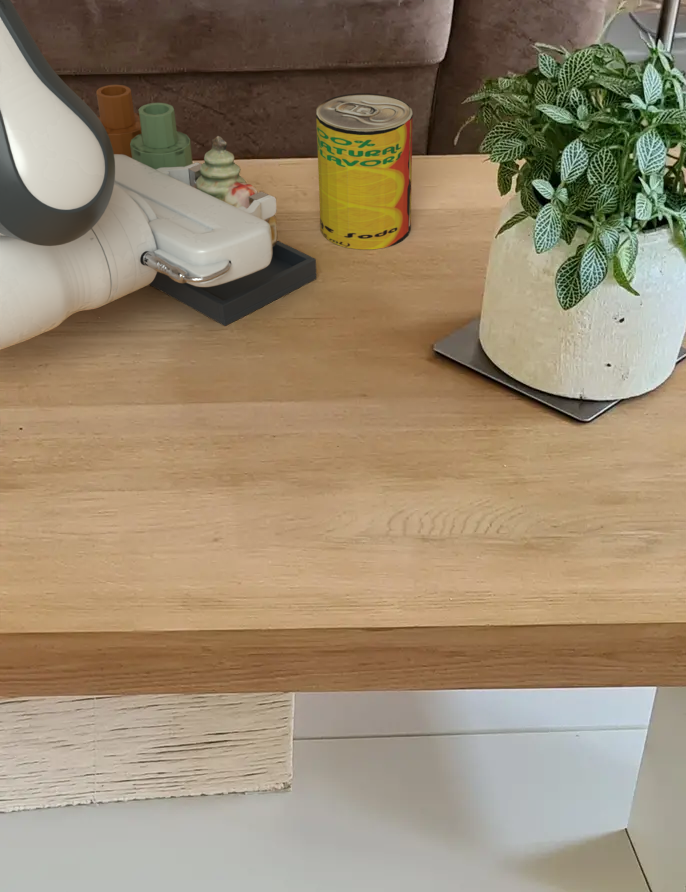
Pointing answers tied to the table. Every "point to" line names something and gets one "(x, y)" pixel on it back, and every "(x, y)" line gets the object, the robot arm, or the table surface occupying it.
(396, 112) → the beverage can
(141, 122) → the green bottle
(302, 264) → the tray
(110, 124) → the amber bottle
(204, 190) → the ornament
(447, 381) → the table surface
